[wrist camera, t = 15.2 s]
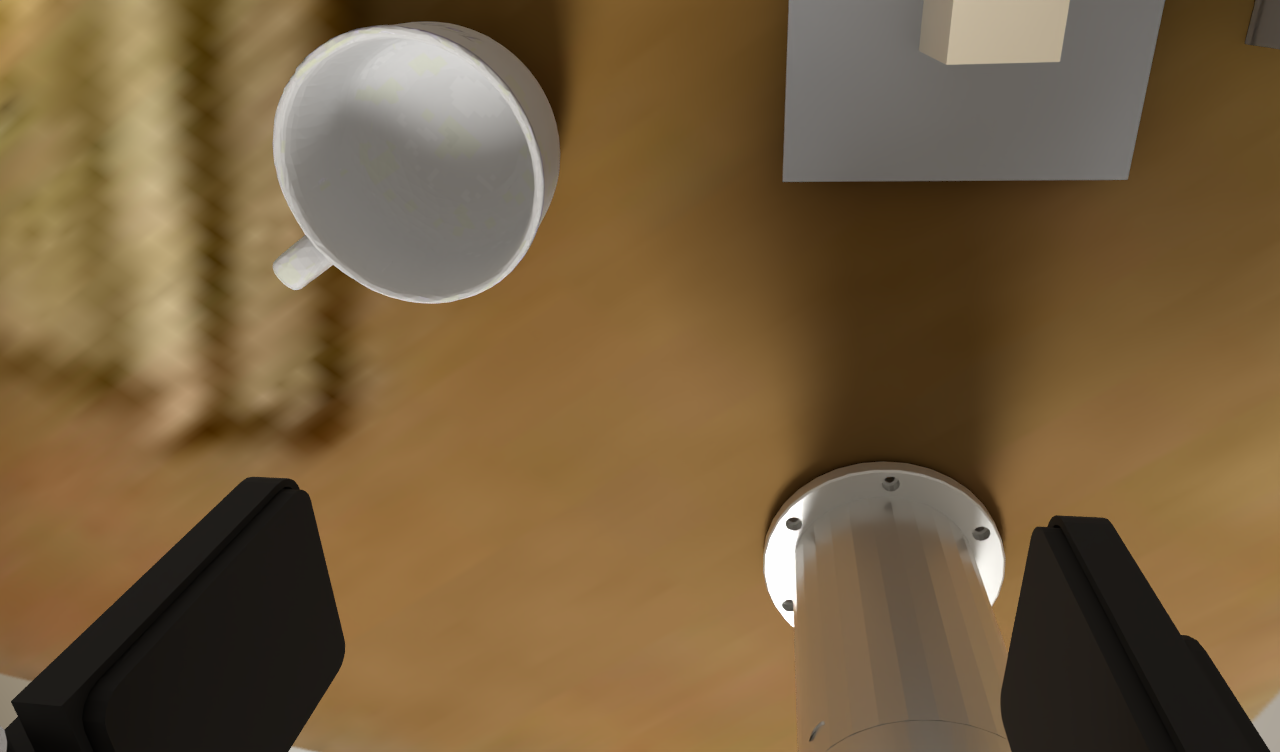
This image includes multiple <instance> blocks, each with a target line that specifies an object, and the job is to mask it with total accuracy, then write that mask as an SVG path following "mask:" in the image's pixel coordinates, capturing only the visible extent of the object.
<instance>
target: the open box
mask: <svg viewBox="0 0 1280 752" xmlns="http://www.w3.org/2000/svg"><path fill="white" fill-rule="evenodd" d="M1245 44H1248V45H1255V46H1262V47H1268V48H1275V49H1280V0H1256V1H1255V5H1254V9H1253V13H1252V17H1251V21H1250V25H1249V29H1248V33H1247V37H1246V41H1245Z"/></svg>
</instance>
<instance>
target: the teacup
mask: <svg viewBox="0 0 1280 752" xmlns="http://www.w3.org/2000/svg"><path fill="white" fill-rule="evenodd" d="M273 154H274V164H275V167H276V171H277V177H278V181H279V184H280V187H281V189H282V192H283V195H284V197H285V199H286V201H287V203H288V206H289V207H290V209H291V211H292V213H293V215H294V217H295V219H296V220H297V222H298V224H299V225H300V227H301V228H302V230H303V232H304V233H305V236H303V237H302V238H301V239H300V240H299V241H297V242H296V243H295V244H294V245H292V246H291V247H290V248H289V249H288V250H287V251H285V252H284V253H283V254H281V255H280V256H279V257H278V258H277V259H276V260H275V262H274V263H273V270H274V273H275V274H276V276H277V277H278V278H279V279H280V280H281V281H282V282H283V284H284V285H286V286H287V287H289V288H291V289H293V290H299V289H302V288H303V287H304V286H306V285H307V284H308V283H310V282H311V281H312V280H314V279H315V278H316V277H318V276H319V275H320V274H322V273H323V272H324V271H325V270H327V269H328V268H329V267H330V266H332V265H334V266H336V267H337V268H338V269H340V270H341V271H342V272H343V273H345V274H346V275H348V276H349V277H351V278H353V279H354V280H356V281H358V282H359V283H361V284H362V285H364V286H366V287H367V288H369V289H371V290H373V291H375V292H378V293H380V294H383V295H386V296H388V297H392V298H396V299H400V300H404V301H408V302H415V303H446V302H452V301H456V300H460V299H464V298H467V297H471V296H474V295H477V294H479V293H481V292H483V291H485V290H487V289H489V288H491V287H492V286H494V285H496V284H497V283H499V282H500V281H501V280H502V279H503V278H505V277H506V276H507V275H508V274H509V273H510V272H511V271H512V270H513V269H514V268H515V267H516V266H517V264H518V263H519V262H520V261H521V260H522V258H523V257H524V256H525V254H526V252H527V251H528V249H529V247H530V246H531V244H532V241H533V239H534V237H535V235H536V232H537V230H538V227H539V225H540V223H541V222H542V220H543V218H544V216H545V214H546V212H547V210H548V208H549V205H550V203H551V200H552V198H553V195H554V191H555V188H556V185H557V181H558V175H559V168H560V143H559V135H558V130H557V125H556V121H555V118H554V114H553V112H552V109H551V106H550V104H549V101H548V99H547V97H546V95H545V93H544V91H543V89H542V88H541V86H540V85H539V83H538V81H537V80H536V79H535V77H534V76H533V75H532V73H531V72H530V71H529V69H528V68H527V67H526V66H525V65H524V64H523V63H522V62H521V61H520V60H519V59H518V58H517V57H516V56H515V55H514V54H513V53H511V52H510V51H509V50H508V49H506V48H505V47H504V46H502V45H501V44H499V43H498V42H496V41H494V40H493V39H491V38H490V37H488V36H486V35H484V34H481V33H479V32H477V31H475V30H472V29H469V28H466V27H463V26H459V25H455V24H451V23H443V22H427V21H426V22H409V23H402V24H395V25H377V26H370V27H364V28H357V29H355V30H352V31H349V32H346V33H344V34H341V35H339V36H336V37H334V38H331V39H329V40H328V41H327V42H326V43H324V44H323V45H321V46H319V47H318V48H317V49H316V50H314V51H313V52H312V53H311V54H309V55H308V56H306V58H305V59H304V61H303V62H302V63H301V64H300V65H299V66H298V67H297V68H296V72H295V74H294V75H293V76H292V77H291V79H290V81H289V82H288V84H287V85H286V87H285V88H284V92H283V94H282V96H281V98H280V101H279V104H278V107H277V111H276V114H275V120H274V133H273Z"/></svg>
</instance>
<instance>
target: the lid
mask: <svg viewBox="0 0 1280 752" xmlns="http://www.w3.org/2000/svg"><path fill="white" fill-rule="evenodd" d="M1164 3H1165V0H789V2H788V31H787V60H786V89H785V118H784V147H783V176H782V178H783V182H844V181H1008V180H1128V176H1129V171H1130V166H1131V161H1132V156H1133V152H1134V147H1135V142H1136V137H1137V132H1138V128H1139V123H1140V118H1141V113H1142V108H1143V104H1144V99H1145V94H1146V89H1147V84H1148V80H1149V75H1150V70H1151V65H1152V60H1153V55H1154V51H1155V46H1156V41H1157V36H1158V31H1159V27H1160V22H1161V17H1162V12H1163V7H1164Z"/></svg>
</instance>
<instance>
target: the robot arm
mask: <svg viewBox="0 0 1280 752" xmlns="http://www.w3.org/2000/svg"><path fill="white" fill-rule="evenodd" d="M887 477H891V478H887ZM763 573H764V577H765V582H766V587H767V590H768V593H769V595H770V597H771V599H772V601H773V603H774V605H775V607H776V608H777V610H778V611H779V612H780V614H781V615H782V616H783V618H784V619H785V620H786V621H787V622H788V623H789V624H790V625H791V626H792V627H794V649H795V679H796V709H797V740H798V752H1270V750H1269V749H1268V747H1267V746H1266V744H1265V743H1264V741H1263V739H1262V738H1261V736H1260V735H1259V733H1258V732H1257V730H1256V729H1255V727H1254V725H1253V724H1252V722H1251V721H1250V719H1249V718H1248V716H1247V715H1246V713H1245V711H1244V710H1243V708H1242V707H1241V705H1240V704H1239V702H1238V701H1237V699H1236V697H1235V696H1234V694H1233V693H1232V691H1231V690H1230V688H1229V686H1228V685H1227V683H1226V682H1225V680H1224V679H1223V677H1222V676H1221V674H1220V672H1219V671H1218V669H1217V668H1216V666H1215V665H1214V663H1213V662H1212V660H1211V658H1210V657H1209V655H1208V654H1207V652H1206V651H1205V650H1204V648H1203V647H1202V646H1201V645H1200V644H1199V642H1198V641H1197V640H1195V639H1193V638H1191V637H1189V636H1186V635H1180V633H1179V631H1178V630H1177V628H1176V627H1175V625H1174V623H1173V622H1172V620H1171V619H1170V617H1169V615H1168V614H1167V612H1166V610H1165V609H1164V607H1163V606H1162V604H1161V602H1160V601H1159V599H1158V598H1157V596H1156V594H1155V593H1154V591H1153V589H1152V588H1151V586H1150V585H1149V583H1148V581H1147V580H1146V578H1145V577H1144V575H1143V573H1142V572H1141V570H1140V569H1139V567H1138V565H1137V564H1136V562H1135V560H1134V559H1133V557H1132V556H1131V554H1130V552H1129V551H1128V549H1127V548H1126V546H1125V544H1124V543H1123V541H1122V539H1121V538H1120V536H1119V535H1118V533H1117V531H1116V530H1115V528H1114V527H1113V525H1112V524H1111V522H1110V521H1109V520H1108V519H1105V518H1097V517H1076V516H1054V517H1052V519H1051V520H1050V522H1049V524H1048V527H1036V528H1035V529H1034V531H1033V533H1032V536H1031V541H1030V546H1029V551H1028V556H1027V561H1026V566H1025V571H1024V576H1023V582H1022V587H1021V592H1020V597H1019V602H1018V607H1017V612H1016V617H1015V622H1014V627H1013V632H1012V638H1011V643H1010V648H1009V653H1007V650H1006V647H1005V644H1004V641H1003V638H1002V635H1001V633H1000V630H999V627H998V624H997V621H996V618H995V615H994V612H993V610H992V606H993V604H994V602H995V600H996V599H997V597H998V595H999V593H1000V589H1001V586H1002V583H1003V580H1004V574H1005V554H1004V549H1003V544H1002V539H1001V537H1000V534H999V532H998V529H997V527H996V524H995V522H994V520H993V519H992V517H991V515H990V514H989V512H988V511H987V509H986V507H985V506H984V505H983V504H982V503H981V501H980V500H979V499H978V498H977V497H976V496H975V495H974V494H973V493H972V492H971V491H970V490H968V489H967V488H965V487H964V486H962V485H961V484H960V483H958V482H957V481H955V480H954V479H952V478H950V477H948V476H946V475H943V474H941V473H939V472H937V471H934V470H932V469H929V468H925V467H921V466H917V465H913V464H909V463H898V462H886V461H882V462H869V463H859V464H855V465H851V466H847V467H843V468H838V469H836V470H833V471H831V472H829V473H826V474H824V475H822V476H819V477H817V478H815V479H814V480H812V481H811V482H809V483H807V484H806V485H804V486H803V487H801V488H800V489H798V490H797V491H796V492H795V493H794V494H793V495H792V496H791V497H790V498H789V499H788V500H787V501H786V502H785V503H784V504H783V505H782V507H781V508H780V510H779V511H778V513H777V514H776V515H775V517H774V518H773V520H772V523H771V525H770V528H769V530H768V533H767V535H766V539H765V546H764V552H763ZM344 654H345V641H344V636H343V632H342V628H341V624H340V619H339V615H338V611H337V607H336V603H335V599H334V595H333V590H332V586H331V582H330V578H329V574H328V570H327V566H326V561H325V557H324V553H323V549H322V545H321V541H320V537H319V532H318V528H317V524H316V520H315V516H314V512H313V508H312V503H311V500H310V497H309V495H308V494H307V492H306V491H304V490H300V489H299V487H298V485H297V484H296V482H295V481H294V480H291V479H287V478H266V477H249V478H246V479H245V480H243V481H242V482H241V483H240V484H239V485H238V486H237V487H235V488H234V489H233V490H232V491H231V492H230V493H229V494H228V495H227V496H226V497H225V498H224V499H223V500H222V501H221V502H220V503H219V504H218V505H217V506H216V507H214V508H213V509H212V510H211V511H210V512H209V513H208V514H207V515H206V516H205V517H204V518H203V519H202V520H201V521H200V522H199V523H198V524H197V525H196V526H195V527H193V528H192V529H191V530H190V531H189V532H188V533H187V534H186V535H185V536H184V537H183V538H182V539H181V540H180V541H179V542H178V543H177V544H176V545H175V546H174V547H172V548H171V549H170V550H169V551H168V552H167V553H166V554H165V555H164V556H163V557H162V558H161V559H160V560H159V561H158V562H157V563H156V564H155V565H154V566H153V567H152V568H150V569H149V570H148V571H147V572H146V573H145V574H144V575H143V576H142V577H141V578H140V579H139V580H138V581H137V582H136V583H135V584H134V585H133V586H132V587H131V588H129V589H128V590H127V591H126V592H125V593H124V594H123V595H122V596H121V597H120V598H119V599H118V600H117V601H116V602H115V603H114V604H113V605H112V606H111V607H110V608H108V609H107V610H106V611H105V612H104V613H103V614H102V615H101V616H100V617H99V618H98V619H97V620H96V621H95V622H94V623H93V624H92V625H91V626H90V627H89V628H88V629H86V630H85V631H84V632H83V633H82V634H81V635H80V636H79V637H78V638H77V639H76V640H75V641H74V642H73V643H72V644H71V645H70V646H69V647H68V648H67V649H65V650H64V651H63V652H62V653H61V654H60V655H59V656H58V657H57V658H56V659H55V660H54V661H53V662H52V663H51V664H50V665H49V666H48V667H47V668H46V669H44V670H43V671H42V672H41V673H40V674H39V675H38V676H37V677H36V678H35V679H34V680H33V681H32V682H31V683H30V684H29V685H28V686H27V687H26V688H25V689H24V690H23V691H21V692H20V693H19V694H18V695H17V696H16V697H15V698H14V699H13V700H12V701H11V703H12V705H13V707H14V709H15V711H16V713H17V715H18V717H17V718H16V719H15V720H14V721H13V722H12V723H11V724H10V725H9V726H8V727H7V728H6V729H5V730H4V729H3V728H2V727H1V726H0V752H288V751H289V750H290V748H291V746H292V745H293V743H294V742H295V740H296V738H297V737H298V735H299V734H300V732H301V730H302V729H303V727H304V726H305V724H306V722H307V721H308V719H309V718H310V716H311V714H312V713H313V711H314V710H315V708H316V706H317V705H318V703H319V702H320V700H321V698H322V697H323V695H324V694H325V692H326V690H327V689H328V687H329V686H330V684H331V682H332V681H333V679H334V678H335V676H336V674H337V673H338V671H339V669H340V667H341V665H342V662H343V659H344Z"/></svg>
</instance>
